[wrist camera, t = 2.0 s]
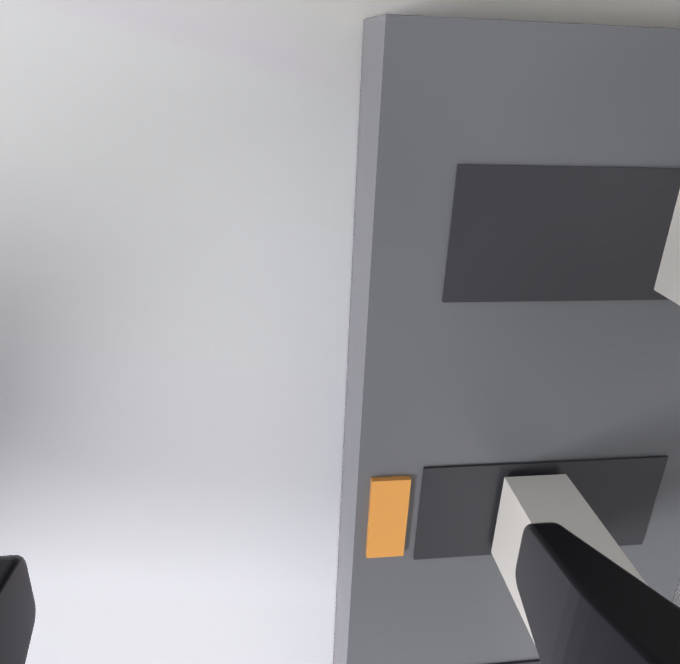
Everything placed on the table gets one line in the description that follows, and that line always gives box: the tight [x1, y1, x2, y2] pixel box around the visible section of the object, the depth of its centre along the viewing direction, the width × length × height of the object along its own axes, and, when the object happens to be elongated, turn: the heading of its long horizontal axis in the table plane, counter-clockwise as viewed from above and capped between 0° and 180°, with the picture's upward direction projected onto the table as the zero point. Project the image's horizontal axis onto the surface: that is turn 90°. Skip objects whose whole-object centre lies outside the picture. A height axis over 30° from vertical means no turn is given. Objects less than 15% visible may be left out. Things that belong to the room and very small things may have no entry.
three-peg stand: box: [333, 14, 680, 664], centre depth 16 cm, size 12×28×15 cm, turn 178°
